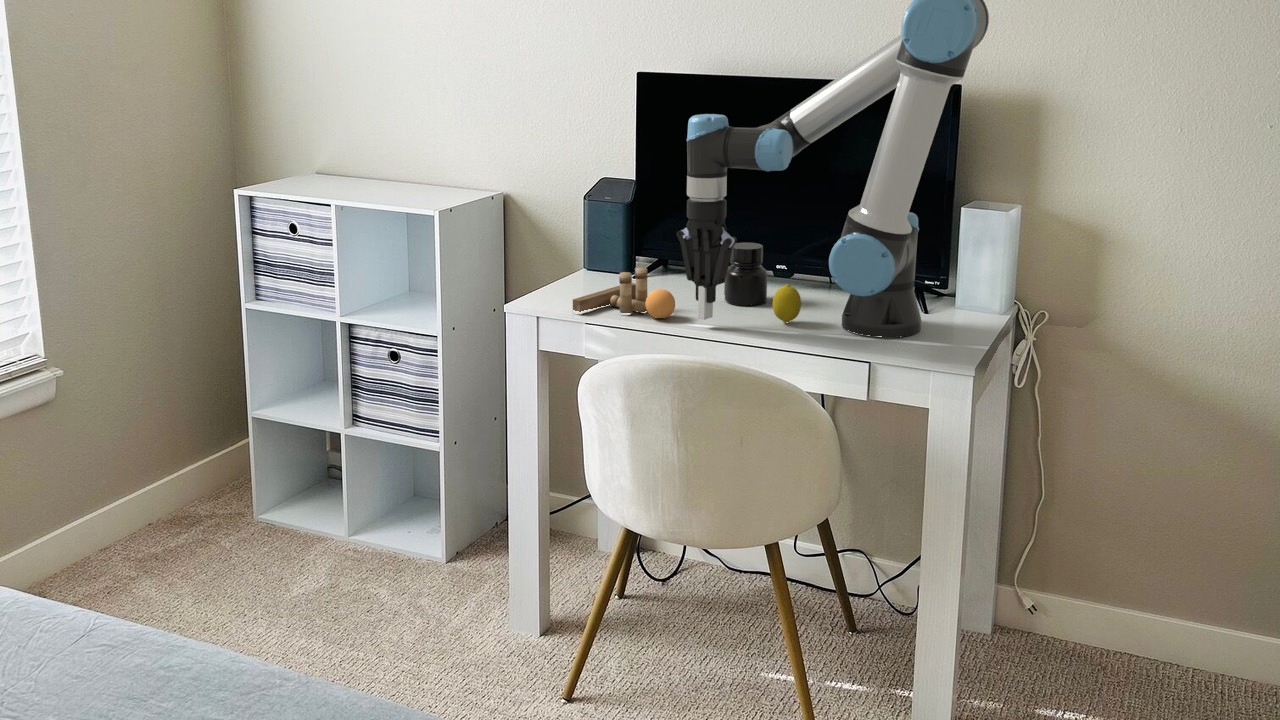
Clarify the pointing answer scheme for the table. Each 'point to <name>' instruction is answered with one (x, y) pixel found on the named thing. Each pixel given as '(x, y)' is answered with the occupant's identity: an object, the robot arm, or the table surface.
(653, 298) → the ball
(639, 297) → the pin
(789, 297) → the lemon
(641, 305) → the pin front
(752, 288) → the ink bottle
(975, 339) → the table surface
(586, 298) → the rail
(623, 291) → the pin
